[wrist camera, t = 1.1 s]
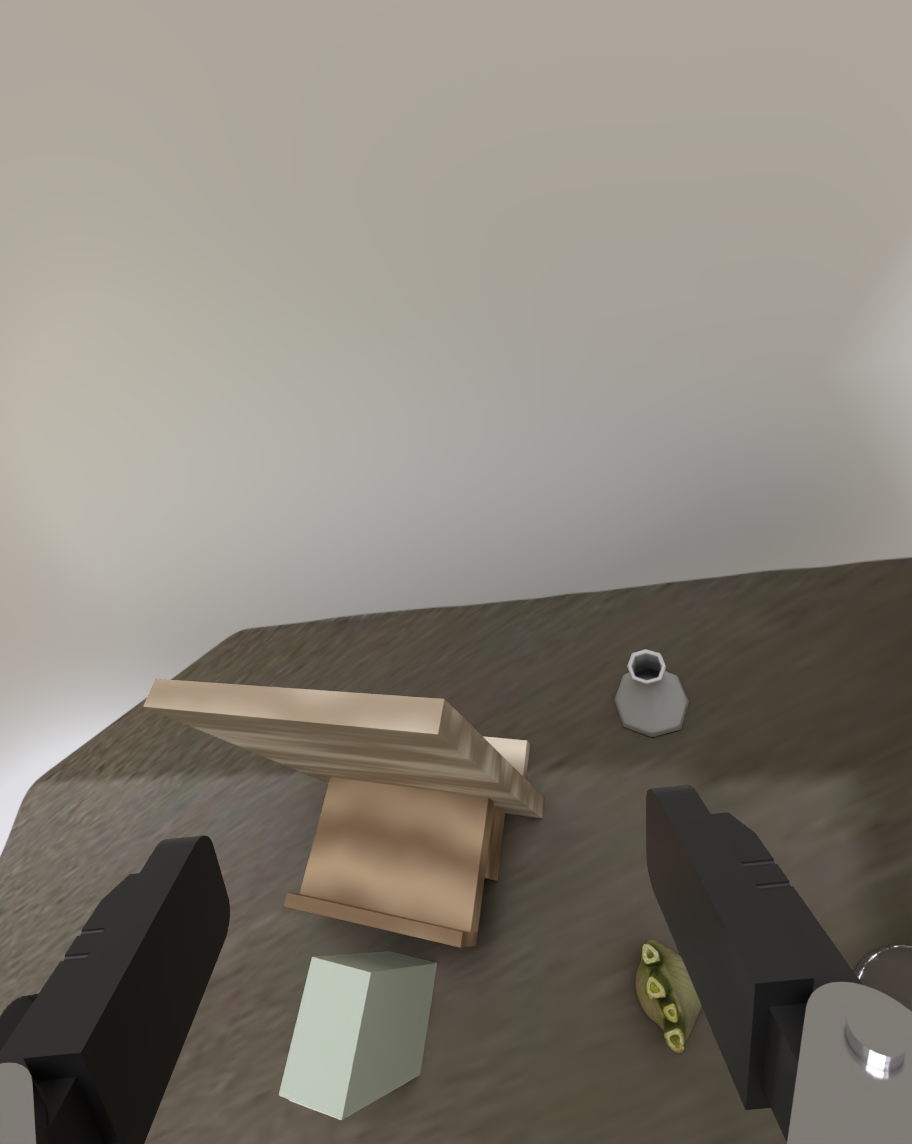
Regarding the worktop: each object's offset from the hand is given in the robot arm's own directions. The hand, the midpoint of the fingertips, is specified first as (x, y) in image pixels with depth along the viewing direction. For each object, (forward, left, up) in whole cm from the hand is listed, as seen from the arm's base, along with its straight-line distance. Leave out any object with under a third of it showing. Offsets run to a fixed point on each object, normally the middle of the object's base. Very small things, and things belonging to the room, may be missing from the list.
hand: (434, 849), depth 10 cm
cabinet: (+4, +22, -49) cm, 53 cm away
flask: (+13, -14, -49) cm, 52 cm away
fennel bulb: (-6, 0, -49) cm, 49 cm away
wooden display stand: (+16, +12, -49) cm, 52 cm away
